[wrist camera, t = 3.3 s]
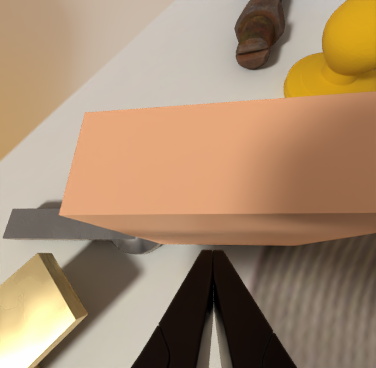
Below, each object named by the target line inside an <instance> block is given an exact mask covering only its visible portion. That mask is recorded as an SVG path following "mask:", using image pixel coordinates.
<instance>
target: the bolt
mask: <svg viewBox="0 0 376 368" xmlns="http://www.w3.org/2000/svg"><path fill="white" fill-rule="evenodd" d="M284 27H285V20H284V14H283V9H282V5H281V0H250V1H249V2H248V4H247V5H246V7H245V8H244V10H243V12H242V13H241V15H240V17H239V18H238V20H237V22H236V25H235V32H236V36H237V39H238V42H239V44H238V47H237V50H236V54H237V55H236V59H237V62H238V64H239V65H240V66H242V67H245V68H249V69H254V68H258V67H260V66H262V65H263V64H265V63H266V61H267V60H268V57H269V52H270V48H271V46H272V45H273V44H274V43H275V42H276V41H277V40H278V39H279V37H280V36H281V35H282V33H283V32H284Z"/></svg>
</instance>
